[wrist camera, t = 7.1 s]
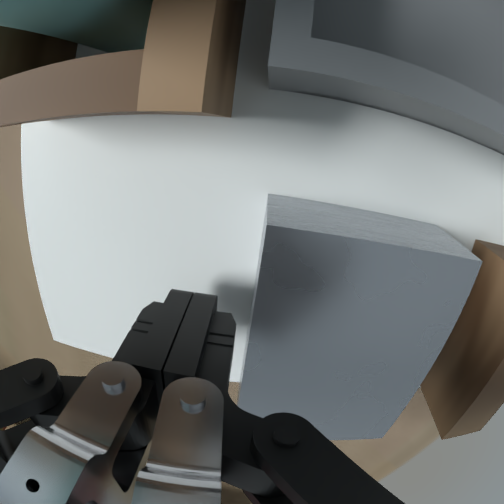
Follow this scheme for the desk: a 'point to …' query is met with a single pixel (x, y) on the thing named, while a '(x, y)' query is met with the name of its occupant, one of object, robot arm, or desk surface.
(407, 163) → the board
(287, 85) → the tray
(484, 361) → the brown wooden block
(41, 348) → the desk surface
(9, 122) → the socket
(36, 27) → the dowel
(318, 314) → the grey rectangular brick
